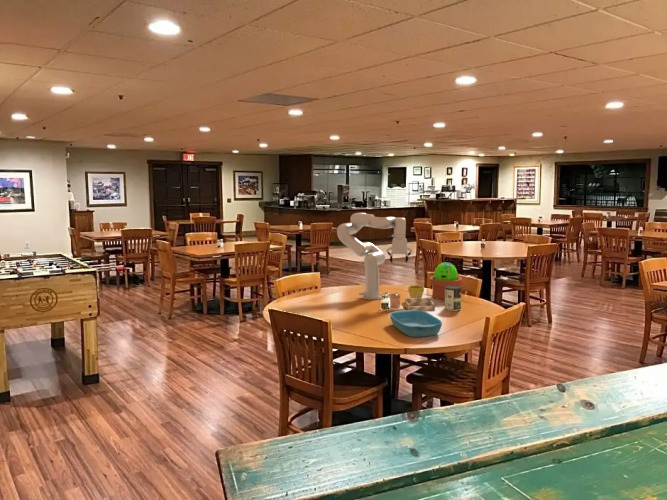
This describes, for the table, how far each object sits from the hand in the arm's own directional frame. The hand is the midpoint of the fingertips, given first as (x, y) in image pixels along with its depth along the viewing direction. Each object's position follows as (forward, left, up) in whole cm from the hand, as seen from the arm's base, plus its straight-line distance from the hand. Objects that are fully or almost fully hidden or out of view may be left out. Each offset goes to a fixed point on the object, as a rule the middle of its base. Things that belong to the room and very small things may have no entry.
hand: (398, 262), depth 349 cm
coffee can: (+31, -23, -27) cm, 47 cm away
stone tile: (-5, -19, -27) cm, 33 cm away
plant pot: (+12, 0, -27) cm, 29 cm away
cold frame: (+11, -19, -27) cm, 34 cm away
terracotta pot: (-5, -19, -26) cm, 32 cm away
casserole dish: (-1, -66, -27) cm, 71 cm away
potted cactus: (+34, +9, -27) cm, 44 cm away
